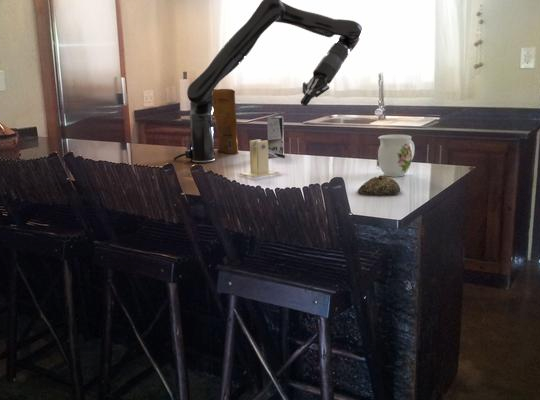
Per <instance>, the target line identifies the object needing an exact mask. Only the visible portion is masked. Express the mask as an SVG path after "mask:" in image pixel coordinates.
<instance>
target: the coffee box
mask: <svg viewBox="0 0 540 400" xmlns="http://www.w3.org/2000/svg"><path fill="white" fill-rule="evenodd" d="M266 120H267V121H266V122H267V125H266V126H267V141H268V149H270V150H272V151H274V152H276V153H278V154H282V155H284V154H285V135H284V115H273V116H268V117H267V118H266ZM268 158H275V157H274V156H272V154H271V153H269V152H268Z"/></svg>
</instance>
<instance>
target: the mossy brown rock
mask: <svg viewBox="0 0 540 400" xmlns="http://www.w3.org/2000/svg"><path fill="white" fill-rule="evenodd" d="M401 189H402V188H401V187H400V184H399V183H398V182H397V181H396V180H395V179H393V178H392V177H390V176H386V175H378V177H376V176H373V177H371V178H370V179H369V180H367V181H365V182H364V183H363V184H362V185H360V187H359V188H358V189H357V193H358V194H360V195H368V196H396V195H399V193H401Z"/></svg>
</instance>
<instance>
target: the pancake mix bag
mask: <svg viewBox="0 0 540 400" xmlns="http://www.w3.org/2000/svg"><path fill="white" fill-rule="evenodd" d="M236 109H237V108H236V91H235V90H234V89H232V88H214V89H213V118H214V119H213V120H214V122H215V127H216V133H217V142H218V146H217V152H220V153H225V154H228V155H236V154H239V146H238V133H237V130H238V129H237V128H238V127H237V125H238V124H237V123H238V122H237V110H236Z"/></svg>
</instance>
